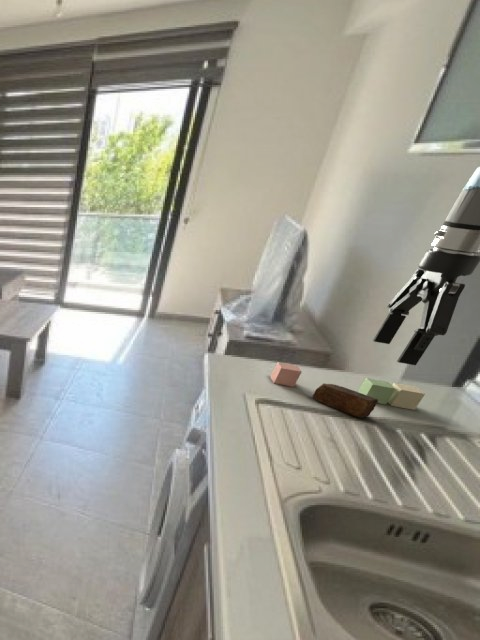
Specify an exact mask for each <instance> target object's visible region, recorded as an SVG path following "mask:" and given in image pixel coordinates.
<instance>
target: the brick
mask: <svg viewBox="0 0 480 640" xmlns="http://www.w3.org/2000/svg"><path fill="white" fill-rule="evenodd" d="M312 399H313V400H315V401H316V402H318V403H320V404H323V405H325V406H328V407H330V408H332V409H334V410H337V411H340V412H342V413H344V414H348V415H349V416H352V417H355V418H357V419H363V418H366V417H369V416H370V415H371V413H373V411H374V410H375V407H376V406H377V404H378V403H377V402H378V399H375V398H373V397H370V396H367V395H364V394H362V393H359V392H358V391H356V390H353V389H350V388H347V387H344V386H340V385H338V384H335V383H322V384H321V385H320V386H319V387H317V388H316V389H315V390H314V393H313V395H312Z"/></svg>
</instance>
